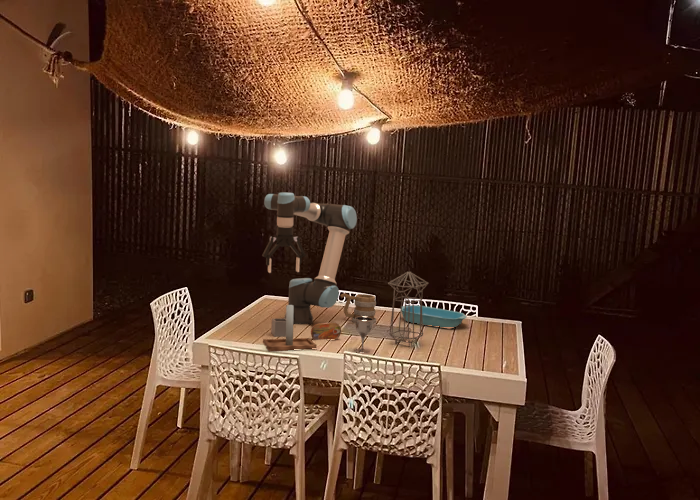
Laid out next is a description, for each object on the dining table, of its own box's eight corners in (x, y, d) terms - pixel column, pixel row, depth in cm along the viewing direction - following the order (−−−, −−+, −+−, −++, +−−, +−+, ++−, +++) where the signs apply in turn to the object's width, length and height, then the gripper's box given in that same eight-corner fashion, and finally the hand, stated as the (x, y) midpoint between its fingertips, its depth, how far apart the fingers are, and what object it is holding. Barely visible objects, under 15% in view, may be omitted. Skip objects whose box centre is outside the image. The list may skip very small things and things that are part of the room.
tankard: (375, 319, 363) (377, 292, 362) (375, 324, 351) (377, 297, 349) (339, 317, 364) (341, 290, 362) (338, 322, 351) (339, 294, 350)
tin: (312, 342, 309) (313, 324, 308) (309, 340, 311) (310, 322, 310) (340, 340, 316) (342, 322, 314) (338, 338, 318) (339, 321, 317)
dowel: (291, 343, 300) (292, 304, 298) (293, 345, 297) (294, 306, 295) (284, 344, 299) (285, 305, 297) (286, 345, 296) (287, 306, 294)
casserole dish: (470, 325, 365) (471, 312, 364) (458, 333, 345) (459, 319, 344) (408, 315, 381) (409, 303, 380) (393, 322, 361) (394, 309, 360)
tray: (308, 342, 308) (308, 338, 307) (316, 349, 296) (316, 345, 296) (262, 343, 300) (262, 339, 300) (269, 351, 288) (269, 347, 288)
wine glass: (352, 348, 302) (354, 316, 300) (369, 348, 303) (372, 316, 301) (354, 353, 294) (356, 320, 293) (371, 353, 295) (374, 320, 293)
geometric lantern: (413, 350, 305) (416, 275, 301) (383, 344, 313) (386, 271, 309) (427, 343, 318) (431, 271, 314) (398, 338, 327) (401, 268, 322)
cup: (284, 334, 319) (285, 318, 318) (288, 338, 313) (288, 321, 312) (271, 334, 317) (271, 318, 316) (274, 338, 311) (275, 321, 310)
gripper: (308, 225, 312) (306, 269, 315) (256, 225, 302) (255, 271, 305) (313, 227, 305) (311, 272, 308) (260, 227, 295) (259, 274, 298)
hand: (283, 271), depth 307 cm, fingers open, 13 cm apart
